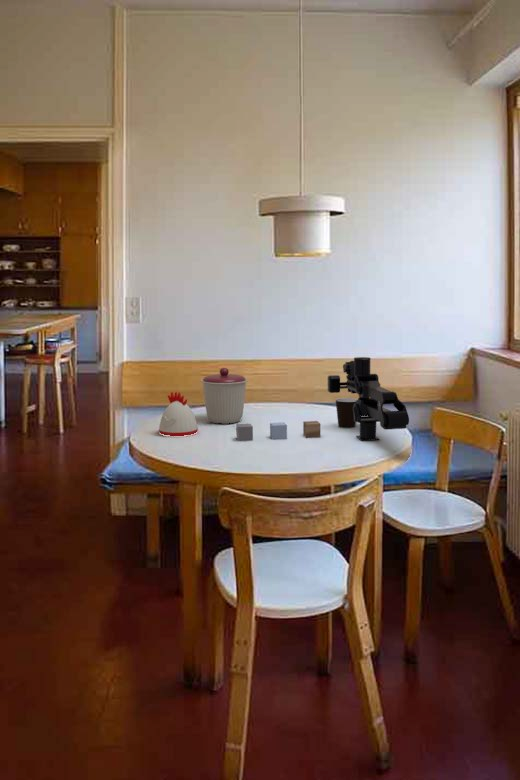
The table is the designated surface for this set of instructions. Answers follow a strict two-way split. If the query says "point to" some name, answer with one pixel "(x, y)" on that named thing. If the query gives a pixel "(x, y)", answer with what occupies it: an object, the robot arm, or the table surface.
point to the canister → (224, 396)
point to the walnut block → (311, 429)
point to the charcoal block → (244, 432)
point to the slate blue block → (278, 430)
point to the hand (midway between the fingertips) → (346, 380)
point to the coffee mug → (345, 412)
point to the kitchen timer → (178, 418)
